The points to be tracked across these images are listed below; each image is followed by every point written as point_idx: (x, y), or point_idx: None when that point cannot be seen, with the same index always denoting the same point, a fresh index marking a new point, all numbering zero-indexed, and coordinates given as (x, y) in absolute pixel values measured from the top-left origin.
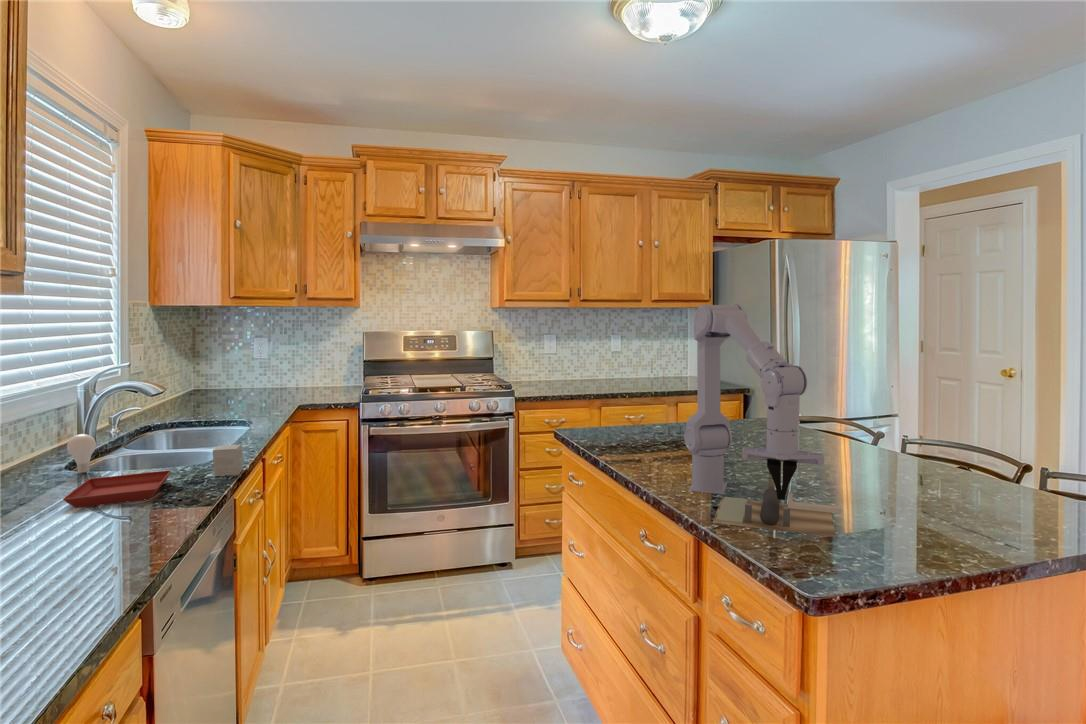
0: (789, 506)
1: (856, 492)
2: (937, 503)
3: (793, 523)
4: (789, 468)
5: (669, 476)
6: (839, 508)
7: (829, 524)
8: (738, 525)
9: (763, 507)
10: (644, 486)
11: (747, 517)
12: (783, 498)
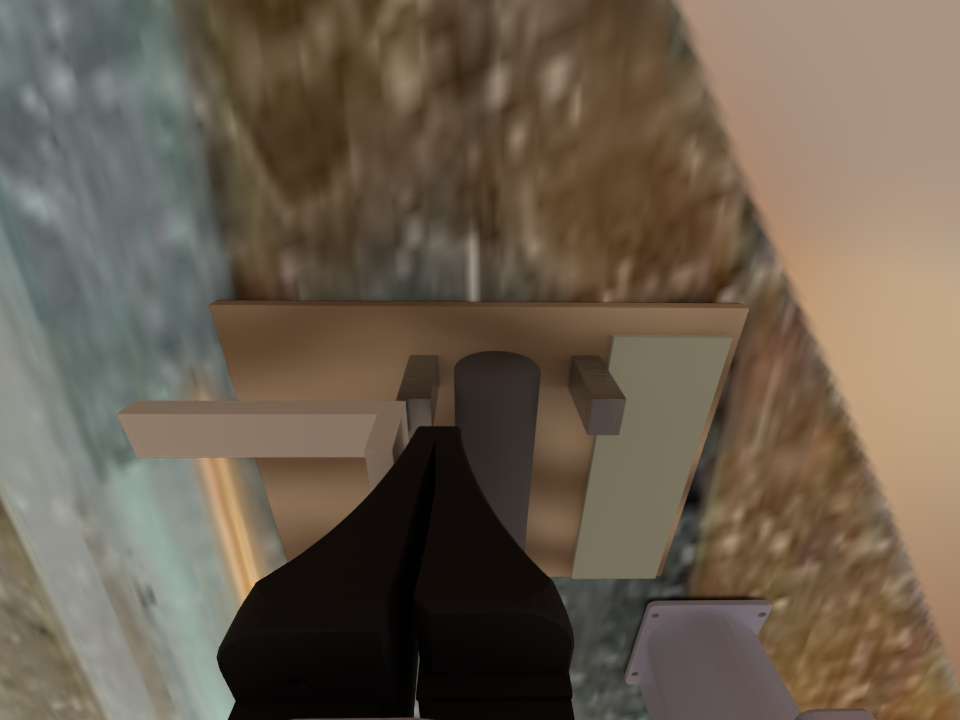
0: (396, 406)
1: None
2: (39, 690)
3: None
4: (303, 600)
5: (796, 693)
6: (132, 425)
7: None
8: (631, 307)
9: (528, 423)
10: (914, 609)
11: (594, 367)
12: (423, 430)
